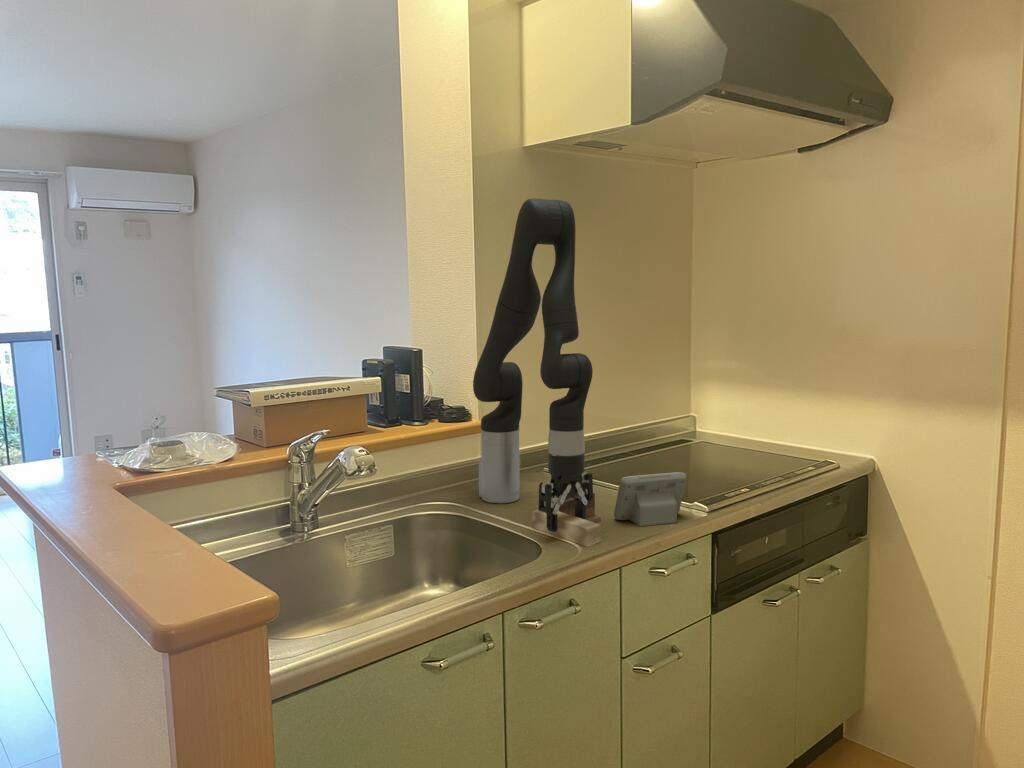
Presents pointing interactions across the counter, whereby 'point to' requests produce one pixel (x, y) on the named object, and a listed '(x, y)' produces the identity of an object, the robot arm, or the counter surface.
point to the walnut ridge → (569, 508)
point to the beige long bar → (570, 528)
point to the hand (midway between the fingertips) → (566, 526)
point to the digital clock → (650, 498)
